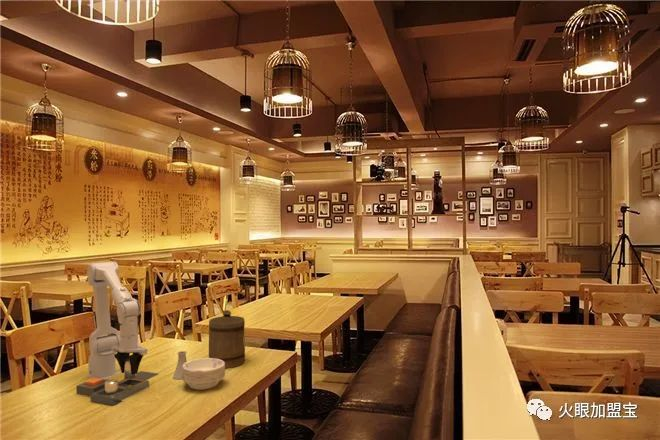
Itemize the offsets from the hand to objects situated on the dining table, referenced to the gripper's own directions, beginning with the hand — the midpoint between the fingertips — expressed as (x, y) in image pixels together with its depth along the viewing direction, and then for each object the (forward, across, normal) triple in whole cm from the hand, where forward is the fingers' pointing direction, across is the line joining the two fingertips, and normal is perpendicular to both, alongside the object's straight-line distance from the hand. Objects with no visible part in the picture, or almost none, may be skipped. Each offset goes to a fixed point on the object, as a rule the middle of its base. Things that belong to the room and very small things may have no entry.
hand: (129, 372), depth 160 cm
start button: (+5, -11, -5) cm, 13 cm away
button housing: (+6, -11, -5) cm, 14 cm away
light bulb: (+6, 0, -8) cm, 10 cm away
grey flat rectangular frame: (+6, 0, -4) cm, 7 cm away
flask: (+6, +10, +16) cm, 20 cm away
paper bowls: (+6, +22, +13) cm, 26 cm away
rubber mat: (+6, -5, +11) cm, 14 cm away
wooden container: (+6, +16, +37) cm, 41 cm away
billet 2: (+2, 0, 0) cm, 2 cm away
